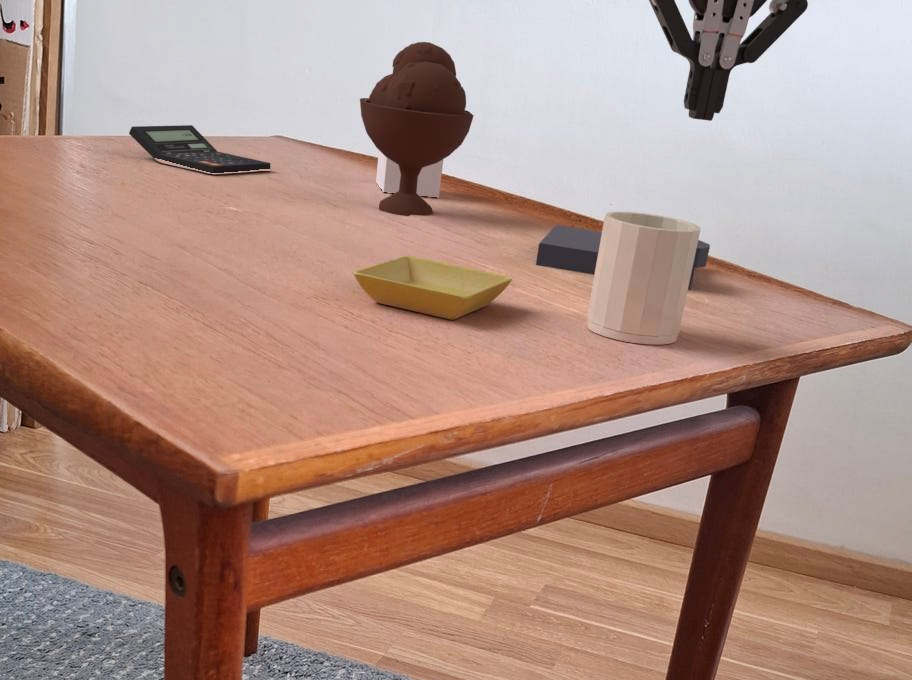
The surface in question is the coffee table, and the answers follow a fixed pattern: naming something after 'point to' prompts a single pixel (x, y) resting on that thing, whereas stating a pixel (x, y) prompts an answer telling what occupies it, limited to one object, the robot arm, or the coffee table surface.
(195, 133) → the calculator
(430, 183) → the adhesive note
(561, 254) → the scale
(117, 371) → the coffee table surface
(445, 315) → the yellow shallow tray
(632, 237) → the faceted pencil cup
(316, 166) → the coffee table surface
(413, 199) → the ice cream bowl
